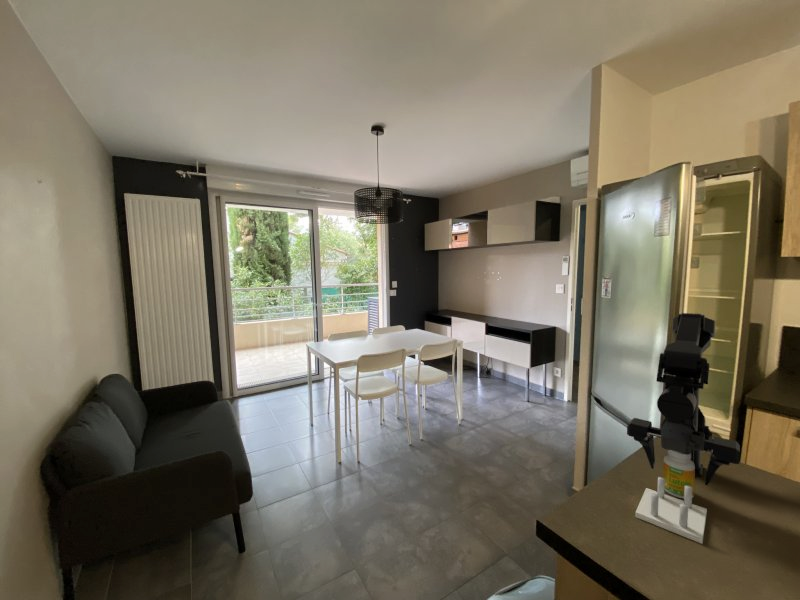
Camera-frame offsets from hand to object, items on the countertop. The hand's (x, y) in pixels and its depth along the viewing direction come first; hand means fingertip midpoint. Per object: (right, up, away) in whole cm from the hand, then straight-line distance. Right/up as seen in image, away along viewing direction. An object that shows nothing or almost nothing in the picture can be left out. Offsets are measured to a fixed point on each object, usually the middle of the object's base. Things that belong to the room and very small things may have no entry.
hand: (678, 476), depth 75 cm
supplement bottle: (0, -4, 0) cm, 4 cm away
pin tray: (-7, -4, -7) cm, 11 cm away
